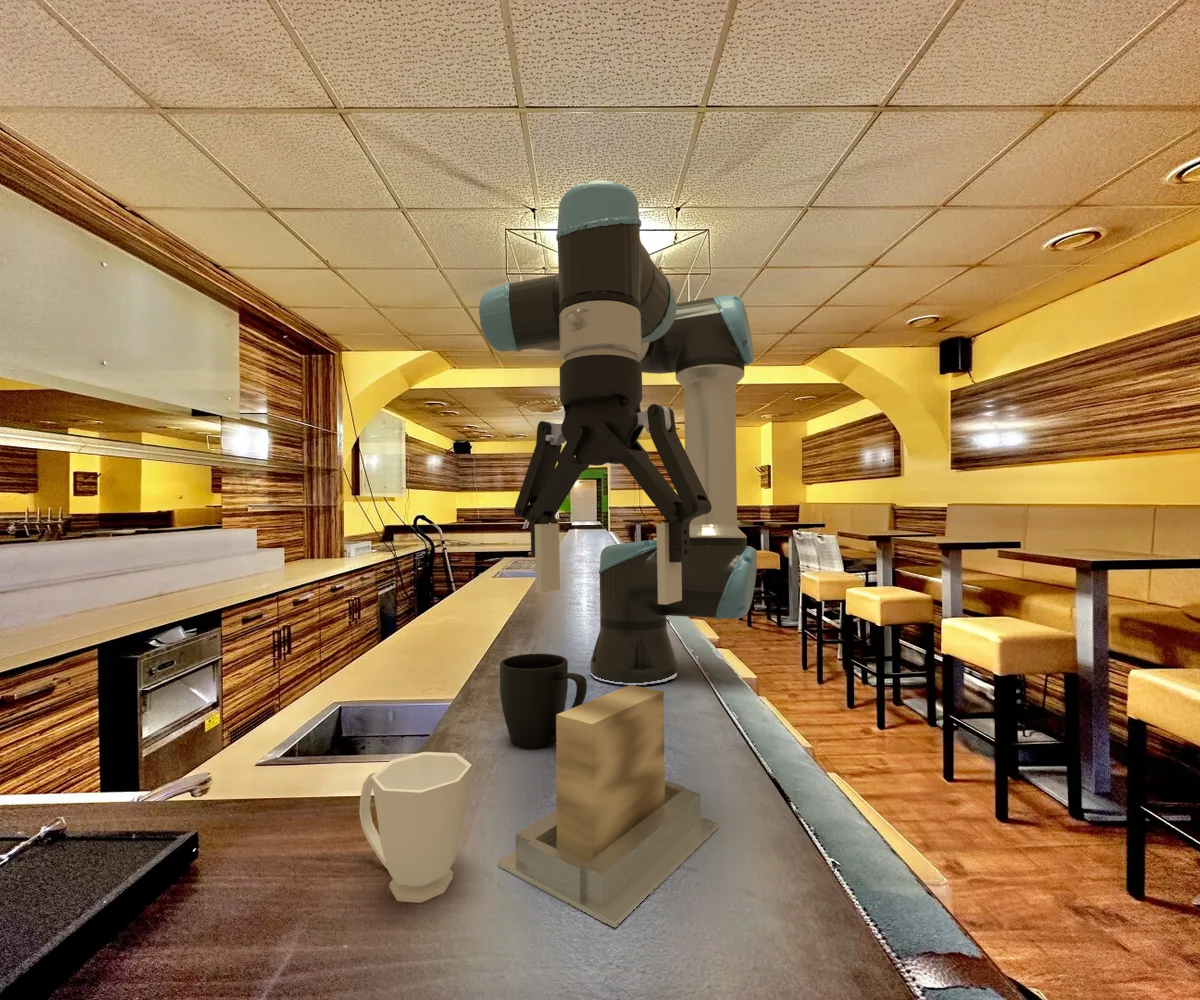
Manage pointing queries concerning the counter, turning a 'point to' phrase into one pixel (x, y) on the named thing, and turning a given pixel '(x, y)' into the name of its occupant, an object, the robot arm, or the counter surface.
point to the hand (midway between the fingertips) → (604, 596)
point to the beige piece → (613, 858)
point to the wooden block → (608, 768)
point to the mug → (536, 697)
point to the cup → (417, 820)
